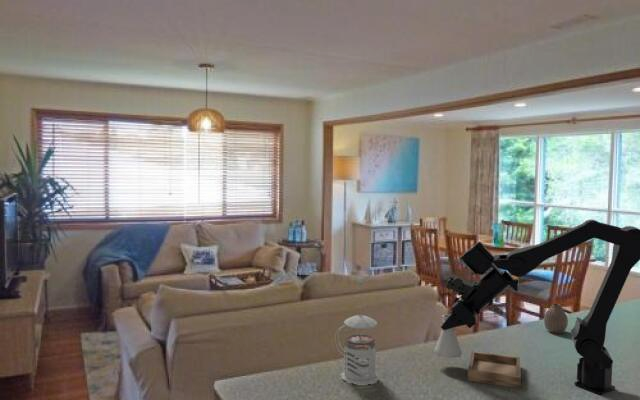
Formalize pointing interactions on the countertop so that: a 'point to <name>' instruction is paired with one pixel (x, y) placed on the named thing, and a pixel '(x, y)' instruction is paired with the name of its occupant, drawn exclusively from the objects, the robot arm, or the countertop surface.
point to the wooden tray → (495, 369)
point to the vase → (555, 319)
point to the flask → (448, 343)
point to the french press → (361, 369)
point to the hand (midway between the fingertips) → (442, 326)
